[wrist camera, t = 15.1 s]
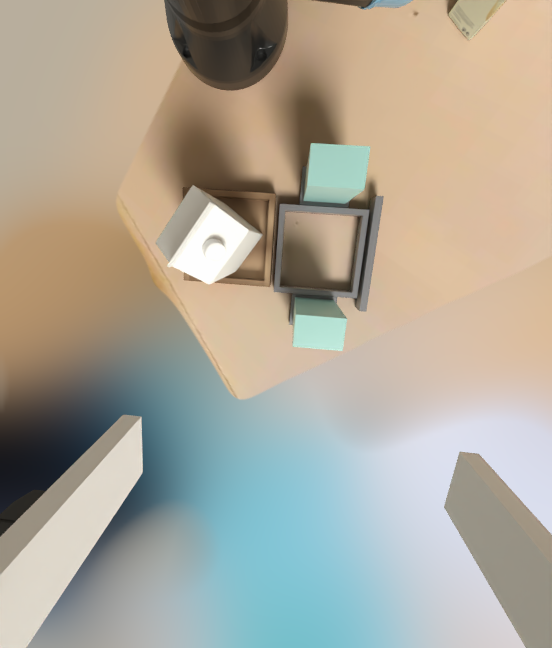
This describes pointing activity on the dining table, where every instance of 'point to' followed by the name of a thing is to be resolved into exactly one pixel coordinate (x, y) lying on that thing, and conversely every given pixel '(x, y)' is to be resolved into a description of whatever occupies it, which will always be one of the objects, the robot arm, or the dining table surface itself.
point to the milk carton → (206, 237)
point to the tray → (260, 216)
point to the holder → (333, 199)
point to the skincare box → (473, 14)
